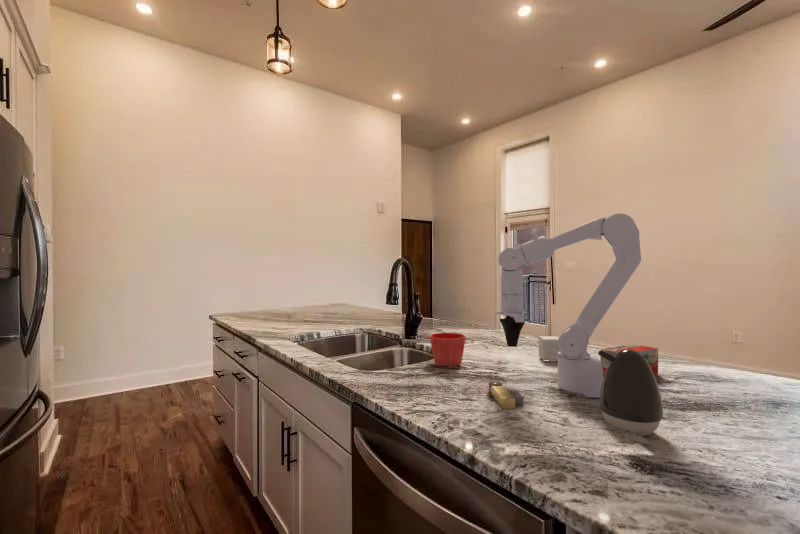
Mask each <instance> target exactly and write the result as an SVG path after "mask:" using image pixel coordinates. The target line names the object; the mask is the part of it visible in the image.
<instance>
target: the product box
mask: <svg viewBox="0 0 800 534" xmlns="http://www.w3.org/2000/svg"><path fill="white" fill-rule="evenodd" d="M558 339H559V336H554V335H551V336H550V335H546V336H545V335H539V336H538V358H539V357H541V358H542V359H543V360H549V361H558V352H560V350H559V348H558Z"/></svg>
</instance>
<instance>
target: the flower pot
mask: <svg viewBox="0 0 800 534" xmlns="http://www.w3.org/2000/svg"><path fill="white" fill-rule="evenodd" d="M429 339H430V345H431V350H432V351H431V352H432V354H433V355H432V357H433V361H434V365H435V366H444V367H454V366H455V367H456V366H461V365H462V361H463V357H464V356H463V355H464V350H465V345H466V335H465V334H464V333H457V332H437V333H433V334H431V335H430V336H429Z"/></svg>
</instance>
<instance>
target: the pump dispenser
mask: <svg viewBox="0 0 800 534" xmlns="http://www.w3.org/2000/svg"><path fill="white" fill-rule="evenodd" d="M597 353H598V356H600V357H601V356H602V357H603V358H605V359H607V360H608V361H610V364H609V366H608V368H607V370H606V372H605V375H604V376H603V382H602V386H601V391H600V398H598V399H599V401H598V405H599V409H600V411H601V415H602V417H603V419H604V421H605V422H606V423H607V424H608V425H610V426H611V427H613V428H616V429H619V430H623V431H626V432H629V433H636V434H638V435H639V436H641V437H646V436H649V435H651V434H654V432H655V431H657V429H658V427H659V425H660V423H661V421H662V420H663V418H664V409H663V403H662V396H661V392H660V388H659V385H658V381H657V379H656V376H654V374H653V371H652V369H651V367H650V365H649V363H648V362H647V360H646V359H645V357H644V356H643V355H642V354H640V353H639V352H637V351H634V350H630V349H626V350H622V351H619V352H618V353H617V354H616V355H612V354H609V353H607V352H604V351H602V350H600V349H599V351H598V352H597Z"/></svg>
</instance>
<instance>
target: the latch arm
mask: <svg viewBox="0 0 800 534" xmlns="http://www.w3.org/2000/svg"><path fill="white" fill-rule="evenodd" d="M508 391H509V390H507V389H506V387H505V386H503V382H500V381H495V380H491V381H488V394H491V396H492V397H493V398H494V399H495V401H496V402H497V403H498V404H499V405H500V407H501V408H502V409H503V410H504V409H505V410H506V409H510V410H511V409H516V406H515V398H514V397H513V396H512V395H511V394H510V393H509V392H508Z"/></svg>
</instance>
